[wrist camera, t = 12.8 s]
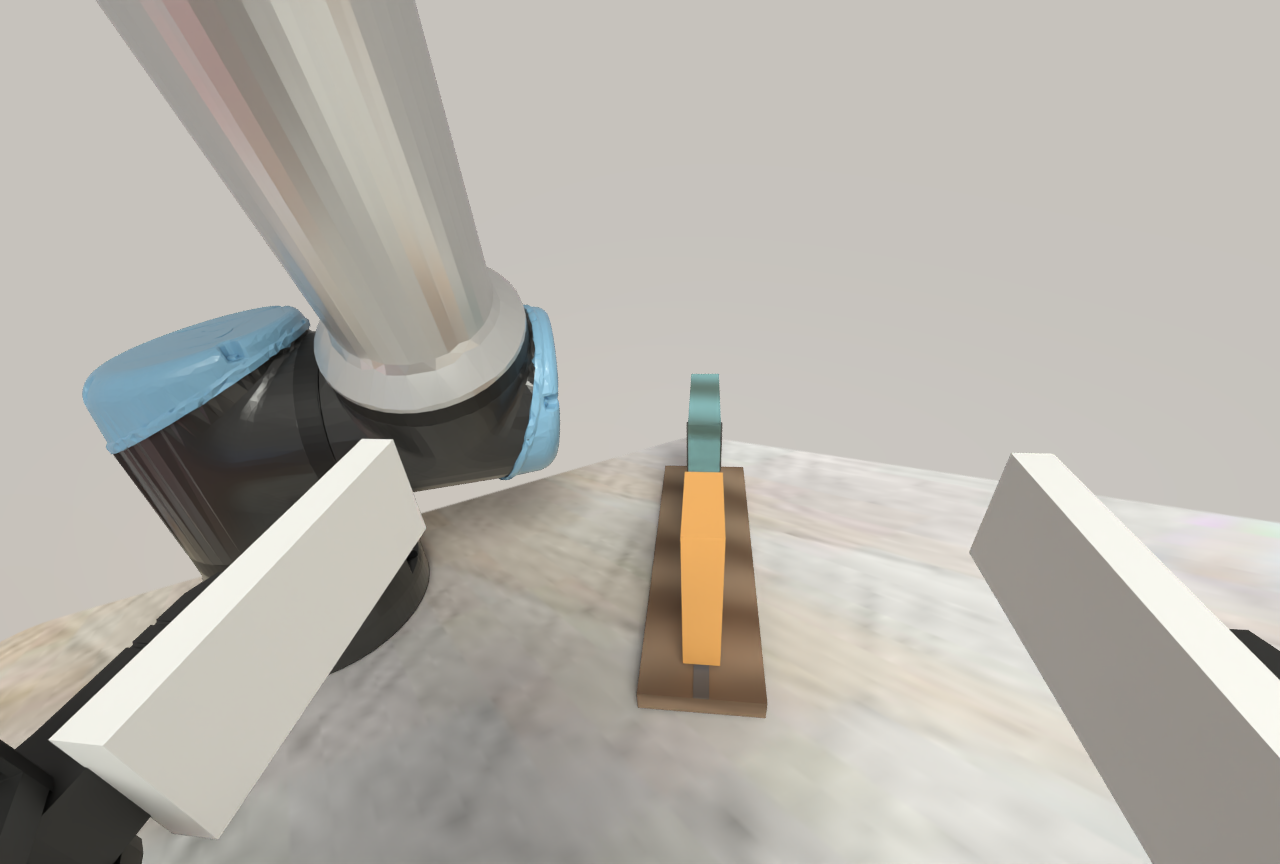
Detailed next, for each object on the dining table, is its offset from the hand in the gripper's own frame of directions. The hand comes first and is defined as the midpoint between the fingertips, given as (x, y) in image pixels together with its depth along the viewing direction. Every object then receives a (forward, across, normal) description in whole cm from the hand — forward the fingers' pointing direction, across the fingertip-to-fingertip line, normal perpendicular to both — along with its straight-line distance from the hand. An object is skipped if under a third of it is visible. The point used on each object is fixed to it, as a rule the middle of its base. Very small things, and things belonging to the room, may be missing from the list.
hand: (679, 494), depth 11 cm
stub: (+14, +1, -23) cm, 27 cm away
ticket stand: (+21, +1, -25) cm, 33 cm away
